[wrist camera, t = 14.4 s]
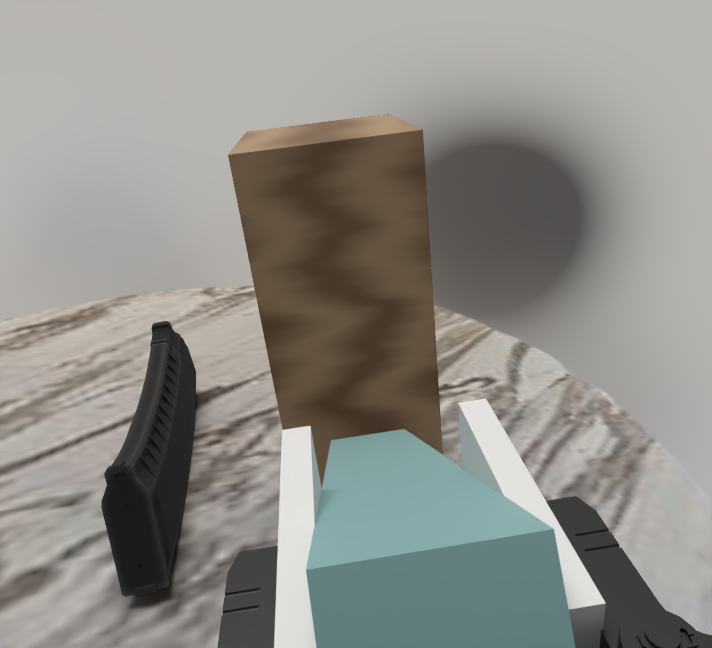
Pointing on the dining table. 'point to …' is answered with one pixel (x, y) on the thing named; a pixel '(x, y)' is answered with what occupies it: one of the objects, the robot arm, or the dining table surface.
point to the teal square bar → (428, 555)
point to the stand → (343, 275)
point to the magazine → (153, 469)
